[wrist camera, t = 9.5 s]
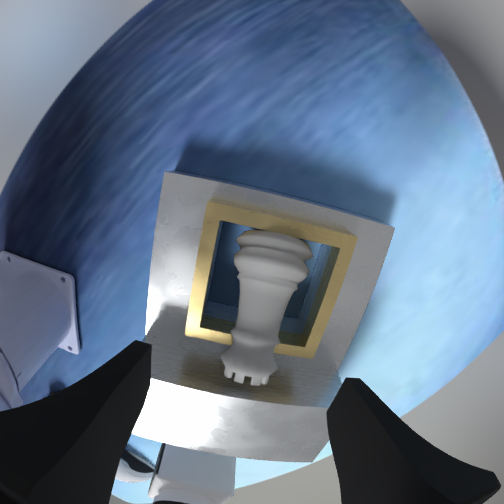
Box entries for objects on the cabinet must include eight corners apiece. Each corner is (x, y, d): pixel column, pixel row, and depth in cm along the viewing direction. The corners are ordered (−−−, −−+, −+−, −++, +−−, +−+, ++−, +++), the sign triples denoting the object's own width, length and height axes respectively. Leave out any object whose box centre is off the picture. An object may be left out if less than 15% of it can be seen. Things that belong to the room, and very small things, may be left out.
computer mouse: (140, 478, 30) (134, 497, 26) (38, 407, 26) (25, 425, 22) (177, 466, 28) (172, 490, 24) (55, 383, 24) (40, 404, 20)
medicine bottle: (170, 420, 24) (143, 521, 12) (238, 439, 25) (233, 540, 13) (159, 449, 26) (137, 532, 14) (217, 466, 27) (209, 549, 15)
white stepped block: (151, 383, 22) (131, 433, 17) (174, 170, 17) (137, 174, 11) (303, 411, 23) (311, 462, 17) (381, 221, 18) (429, 246, 12)
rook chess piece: (274, 224, 13) (236, 394, 12) (330, 251, 16) (300, 389, 15) (222, 230, 17) (192, 363, 15) (277, 250, 19) (251, 366, 18)
